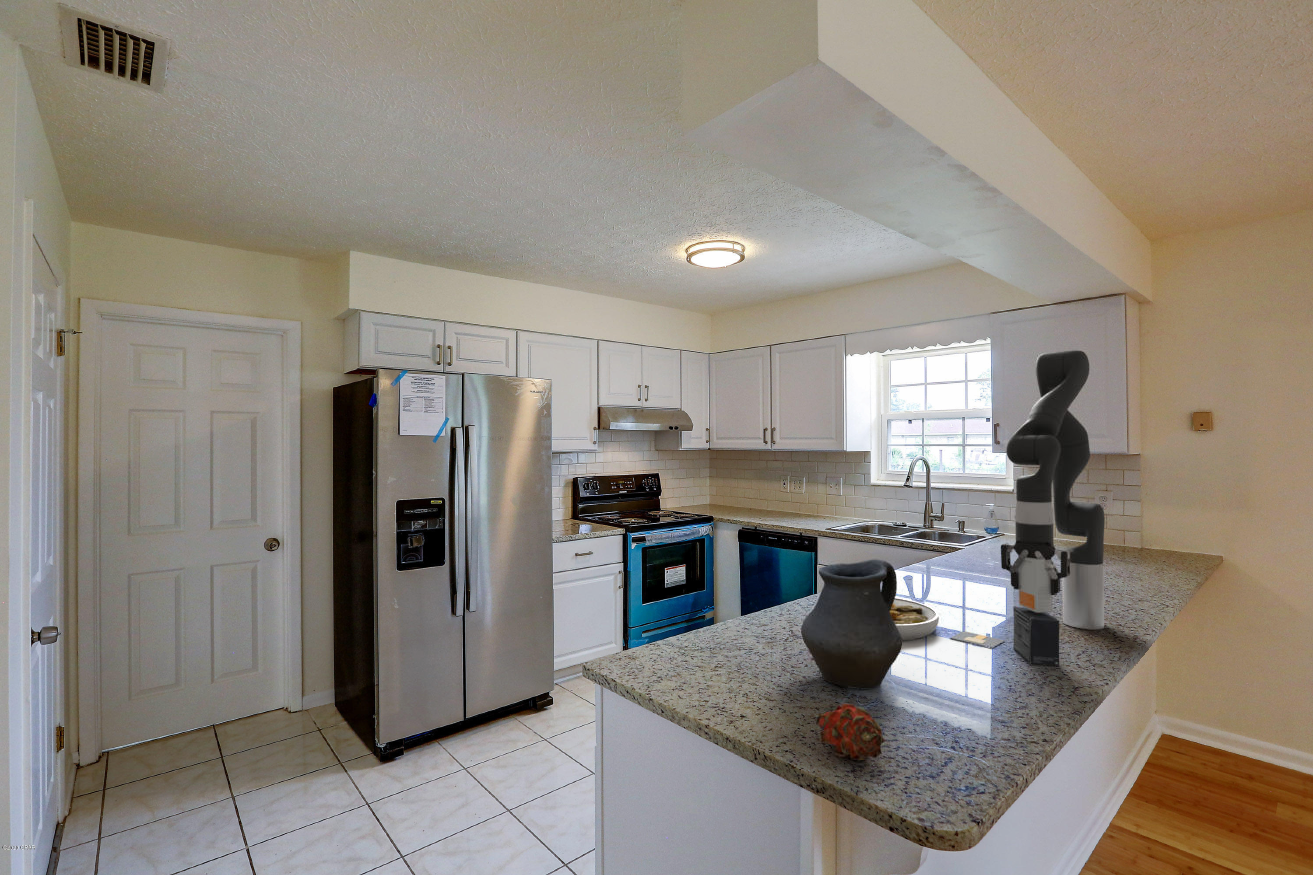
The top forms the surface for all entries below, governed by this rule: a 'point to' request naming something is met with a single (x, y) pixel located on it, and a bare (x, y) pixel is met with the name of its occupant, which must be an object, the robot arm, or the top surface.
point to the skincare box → (1035, 585)
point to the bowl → (913, 618)
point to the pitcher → (854, 624)
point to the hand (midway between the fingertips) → (1035, 591)
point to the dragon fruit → (851, 732)
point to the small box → (1036, 637)
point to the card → (977, 639)
